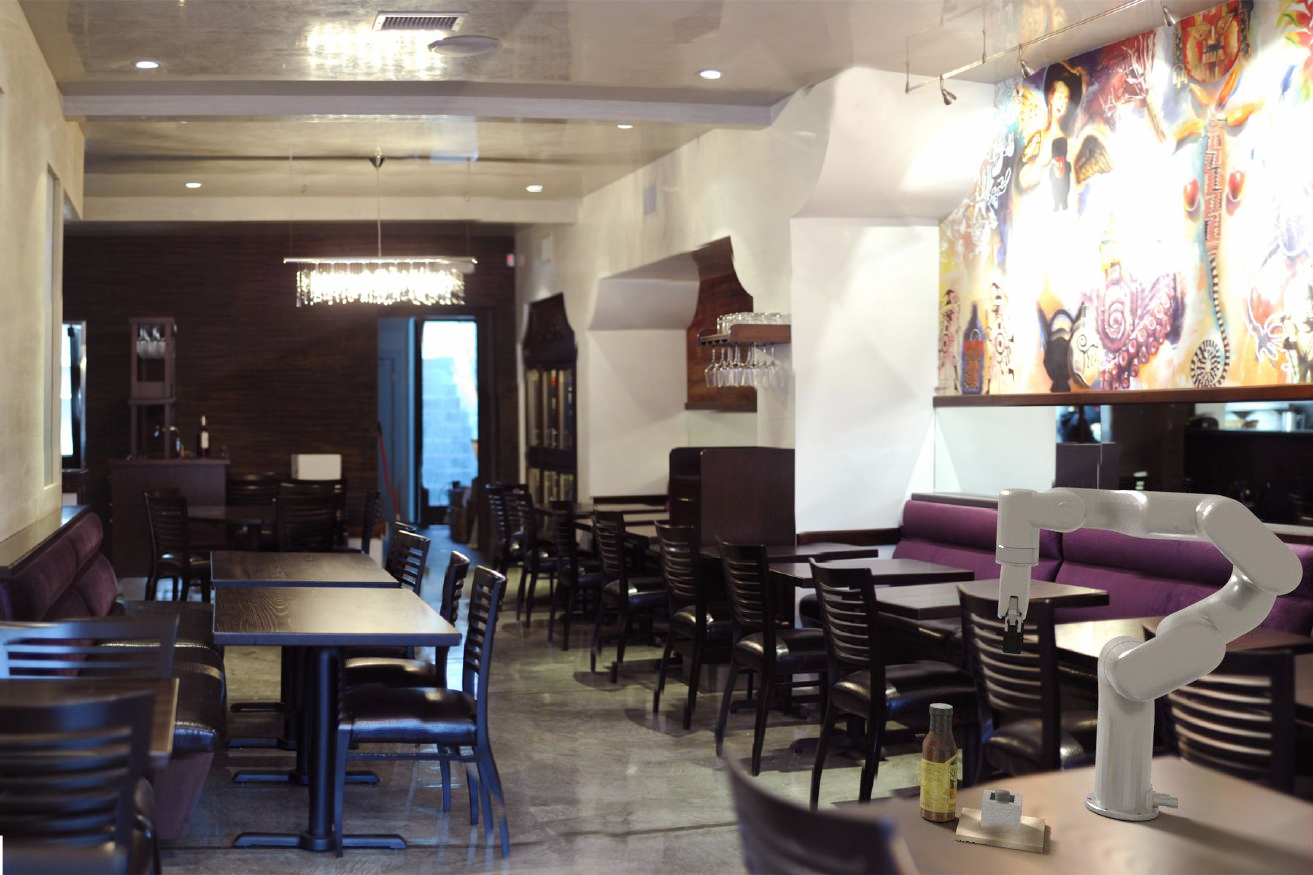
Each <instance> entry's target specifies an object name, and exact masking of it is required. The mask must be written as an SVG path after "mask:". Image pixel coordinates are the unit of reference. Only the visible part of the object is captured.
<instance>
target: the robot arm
mask: <svg viewBox="0 0 1313 875" xmlns="http://www.w3.org/2000/svg"><path fill="white" fill-rule="evenodd" d="M996 519H997V522H996V523H997V524H996V546H995V547H996V549H995V564H998V565H1001V567H1000V574H999V585H998V586H999V589H998V590H999V591H998V608H997V617H998V618H999V619H1002V618H1003V617H1004V619H1005V620H1004V630H1003V633H1002V634H1003V636H1002V637H1003V638H1002V653H1004V654H1011V655H1021V654H1022V645H1023V644H1024V637H1025V622H1024V620H1025V619H1026V616H1027V612H1028V608H1029V602H1030V593H1031V580H1032V579H1031V578H1032V567H1037V566H1039V557H1040V556H1039V555H1040V554H1039V553H1040V534H1041V533H1040V531H1041V530H1047V531H1053V532H1059V533H1072V532H1074V531H1075V532H1076V530H1078V529H1081V528H1083V529H1095V530H1105V531H1110V532H1112V531H1113V532H1116V533H1119V534H1123V535H1127V536H1129V537H1135V538H1141V539H1154V540H1169V541H1170V540H1174V541H1175V540H1176V541H1190V542H1204V543H1207V542H1208V543H1211V544H1212V545H1213V546H1214V547H1215V548H1216V549H1217V550H1218V551H1219V552H1220V553H1221V554H1222V556H1224V557H1225V558H1226V559H1227V560H1228V561H1229V562H1230V563H1231V564H1232V565H1233V566H1232V567H1233V568H1232V572H1231V576H1230V578H1229V579H1228V582H1227V583H1226V584H1225V585H1224V586H1223V587H1222V588H1220V589H1219V590H1217V591H1216V592H1214V593H1213V594H1211V595H1209V596H1207V597H1205V598H1203V599H1201V600H1199V601H1197V602H1195V603H1193V604H1191V605H1189V606H1187V607H1184V608H1183V609H1180V610H1178V611H1175V612H1172V613H1171V614H1169V615H1168V616H1165V617H1164V618H1163V619H1162V620H1161V621H1160V622H1159V623H1158V625H1157V627H1156V632H1155V637H1152V638H1151V639H1149V640H1147V641H1143V640H1141V639H1140V638H1137V637H1136V636H1131V635H1118V636H1116V637H1113V638H1111V639H1109V640H1108V641H1107V642H1106V643H1105V644H1104V645H1103V646H1102V648H1101V649H1100V652H1099V655H1098V660H1097V682H1098V685H1097V686H1098V688H1097V689H1098V703H1097V704H1098V707H1097V708H1098V710H1097V724H1096V725H1097V726H1096V745H1095V746H1096V749H1095V750H1096V751H1095V768H1094V770H1095V771H1094V774H1095V775H1094V792H1091V793H1088V794H1087V795H1086V796H1084V805H1085V806H1086V807H1087V808H1088V810H1090V811H1092V812H1094V813H1096V814H1099V815H1100V816H1105V817H1108V818H1113V819H1117V820H1124V821H1137V822H1138V821H1148V820H1153V819H1156V818H1157V817H1158V816H1159V814H1160V808H1159V807H1166V808H1168V809H1169V808H1171V809H1178V807H1179V798H1178V797H1174V796H1170V795H1171V794H1170V793H1164V792H1156V790H1154V789H1153V785H1152V769H1153V768H1152V765H1153V748H1154V746H1153V745H1154V727H1155V700H1156V699H1159V698H1161V697H1163V696H1166V695H1167V694H1169V693H1171V692H1174V691H1176V690H1178V689H1181V688H1182V687H1185V686H1187V685H1188V684H1191V683H1193V682H1195V681H1197V680H1199V679H1201V678H1203V677H1205V676H1207V675H1208V674H1210V673H1211V672H1212V671H1214V670H1215V669H1216V668H1218V666H1219V665H1220V664H1221V663H1222V661H1223V660H1224V657H1225V655H1226V652H1227V651H1226V650H1227V645H1226V644H1229V643H1230V642H1233V641H1235V640H1236V639H1237V638H1238V639H1239V638H1241V636H1244V635H1245V634H1247V633H1248V632H1251V631H1253V629H1255V628H1257V627H1258V626H1259V625H1261V623H1263V621H1265V619H1267V617H1268V616H1269V614H1270V613H1271V611H1272V609H1273V606H1274V604H1275V603H1276V602H1275V601H1276V599H1277V596H1282V595H1286V594H1287V595H1288V594H1289V593H1291V592H1292V591H1294V590H1296V588H1297V587H1298V586H1299V585H1300V583H1301V581H1302V578H1303V572H1304V571H1303V565H1302V562H1301V560H1300V558H1299V557H1298V555H1297V554H1296V553H1295V552H1294V551H1293V550H1292V549H1291V548H1290V547H1289V546H1288V545H1287V544H1285V543H1284V542H1283V541H1282V539H1280V538H1279V537H1278V536H1277V535H1276V534H1275V533H1274V532H1273V531H1272V530H1271V529H1269V528H1268V527H1267V526H1266V524H1264V522H1262V520H1260V519H1259V518H1258V517H1257V516H1256V515H1255V514H1254V513H1253V512H1252V511H1251V510H1250V508H1248V507H1246V505H1244V504H1243V503H1241V502H1240V501H1238V500H1236V499H1233V498H1230V497H1227V496H1223V495H1219V494H1208V493H1207V494H1206V493H1191V492H1189V493H1186V492H1169V491H1168V492H1166V491H1148V490H1129V489H1128V490H1114V489H1101V488H1100V489H1099V488H1079V487H1065V486H1064V487H1060V486H1058V487H1052V488H1049V489H1047V490H1046V491H1044V492H1038V491H1037V490H1034V489H1029V488H1004V489H1003V490H1001V491H1000V492H999V494H998V498H997V518H996Z"/></svg>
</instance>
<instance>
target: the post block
mask: <svg viewBox="0 0 1313 875" xmlns="http://www.w3.org/2000/svg"><path fill="white" fill-rule="evenodd" d="M994 791H995V800H996V801H1004V802H1010V793H1011V792H1010V791H1009V790H1006V789H995V790H994ZM1045 824H1046V819H1045V818H1041V817H1033V816H1026V815H1022V821H1021V830H1020V835H1013V834H1006V833H999V832H992V831H985V830H980V829H981V809H977V808H968V807H962V809H961V812H960V817H959V820H958V824H957V826H956V832H955V837H954V841H960V840H961V841H960V842H966V841H969V842H968V843H972V842H975V843H974V844H980V845H985V844H986V846H994V847H999V848H1006V849H1014V850H1021V851H1027V852H1034V853H1040V854H1043V853H1044V840H1045V839H1044V837H1045V827H1046V826H1045ZM966 843H967V842H966Z"/></svg>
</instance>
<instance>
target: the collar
mask: <svg viewBox="0 0 1313 875" xmlns="http://www.w3.org/2000/svg"><path fill="white" fill-rule="evenodd" d="M995 791H996V790H994V789H986V788H984V790H983V794H982V799H981V805H980V806H981V807H980V808H981V809H980V810H981V829H980V830H985V831H992V832H999V833H1006V834H1013V835H1020V830H1021V821H1022V816H1023V798H1024V797H1023V796H1024V795H1023V793H1015V792H1010V802H1004V801H996V800H995Z"/></svg>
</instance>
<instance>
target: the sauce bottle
mask: <svg viewBox="0 0 1313 875" xmlns="http://www.w3.org/2000/svg"><path fill="white" fill-rule="evenodd" d="M928 712H929V715H930V718H929V719H930V720H929V731H928V733H927V735H926V736H925V737H924V740H923V741H922V750H921V751H922V756H921V764H920V765H921V766H920V768H921V770H920V788H919V789H920V790H919V791H920V792H919V793H920V796H919V797H920V798H919V806H920V809H919V810H920V816H921V817H922V818H923V819H925V820H927V821H930V822H936V823H938V822H939V823H945V822H947V823H948V822H951V821H953V820H954V819H955V817H956V810H957V795H958V794H957V793H958V792H957V791H958V788H957V786H958V761H959V751H958V747H957V745H956V741H955V738H954V735H953V726H952V721H953V719H952V718H953V715H954V707H953V705H950V704H947V703H942V702H941V703H940V702H939V703H931V704H929V710H928Z"/></svg>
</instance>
